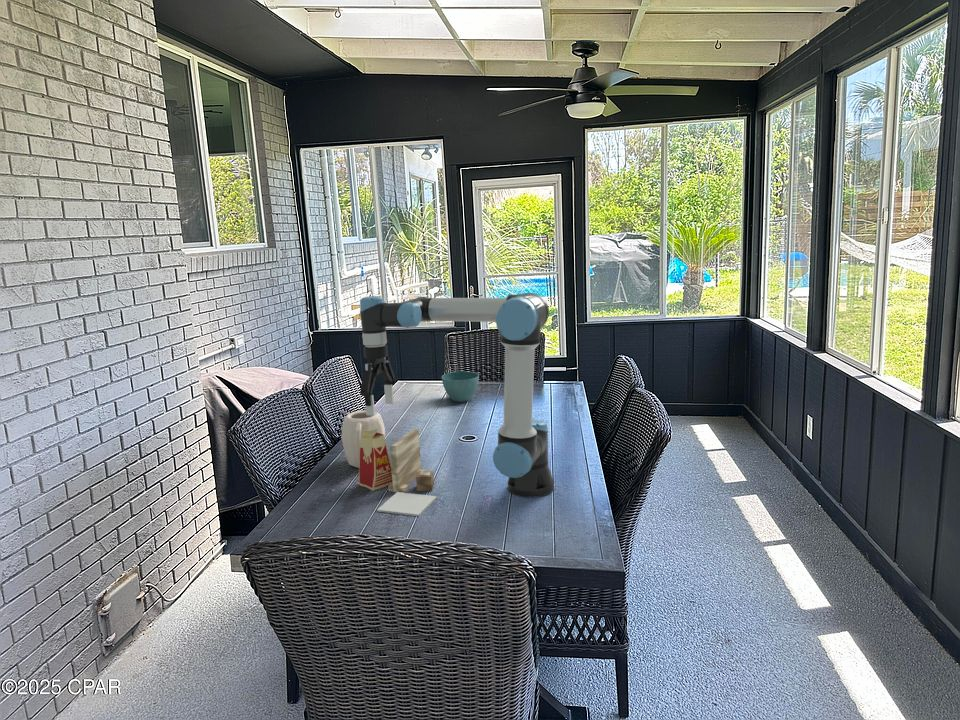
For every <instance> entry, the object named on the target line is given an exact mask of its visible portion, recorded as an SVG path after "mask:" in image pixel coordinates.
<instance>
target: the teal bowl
mask: <svg viewBox="0 0 960 720" xmlns="http://www.w3.org/2000/svg"><path fill="white" fill-rule="evenodd" d="M479 377H480V375H479V374H478V373H477V372H475V371H474V372H473V371H452V372H449V373H448V372H447V373H445V374H443V375H441V381H442V385H443V388H444V391H445V392H446V394H447V395H448V397H449V398H450V399H451V400H452V401H454V402H457V403H464V402H467V401H470V400H471V399H472V398H473V395H475V393H476V391H477V388H478V385H479V380H480V379H479Z"/></svg>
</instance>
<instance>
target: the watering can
mask: <svg viewBox="0 0 960 720" xmlns="http://www.w3.org/2000/svg"><path fill="white" fill-rule="evenodd" d="M374 429H378V430H377V433H380V434H384V437H385V438H386V428H385V424H384V420H383V418H382V415H381V414H380V413H378V412H377V411H375V415H374V416H371V415H366V409H365V410H358V411H352V412H350V413H348V414H347V415H346V416H345V417H344V419H343V422H342V426H341V435H340V436H341V441H342V446H343V451H344V455H345V457H346V461H347V462H348V465H350V466H352V467H355V468H358V469H359V457H360V442H361V438H362V436H363V434H364V432H363V431H362V430H374Z"/></svg>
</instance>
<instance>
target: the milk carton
mask: <svg viewBox="0 0 960 720" xmlns="http://www.w3.org/2000/svg"><path fill="white" fill-rule="evenodd" d="M377 430H378V429H374V430H362V431H363V432H364V434H363V436H362V438H361V442H360V457H359V468H358V474H359V475H358V481H359V486H361V487H364V488H367V489H369V490H370V491H376V490H379V489H382V488H385V487H388V486H389V485H391V484H392V483H393V481H392V466H391V458H390V456H389V452H388V446H387V442H386V436H385V437H384V434H380V433H377Z"/></svg>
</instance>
